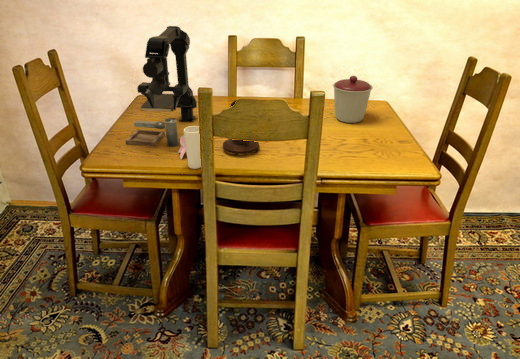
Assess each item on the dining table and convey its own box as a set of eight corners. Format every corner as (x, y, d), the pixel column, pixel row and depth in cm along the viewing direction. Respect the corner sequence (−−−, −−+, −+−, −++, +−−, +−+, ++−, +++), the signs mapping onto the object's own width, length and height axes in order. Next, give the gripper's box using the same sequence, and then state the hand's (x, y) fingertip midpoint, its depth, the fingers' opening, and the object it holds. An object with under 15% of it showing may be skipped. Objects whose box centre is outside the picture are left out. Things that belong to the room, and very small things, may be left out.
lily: (183, 148, 189) (171, 132, 182) (208, 139, 186) (197, 122, 179) (180, 168, 180) (167, 152, 174) (206, 159, 177) (194, 143, 171)
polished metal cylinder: (169, 142, 192) (167, 117, 187) (180, 142, 191) (178, 118, 186) (165, 146, 188) (163, 121, 183) (176, 147, 187) (174, 122, 182)
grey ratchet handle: (133, 127, 207) (133, 122, 206) (137, 124, 210) (136, 119, 209) (163, 129, 205) (162, 124, 204) (166, 126, 208) (165, 121, 207)
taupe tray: (137, 134, 201) (137, 129, 199) (165, 136, 199) (164, 131, 198) (126, 145, 190) (125, 140, 189) (154, 147, 188) (154, 142, 187)
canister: (366, 128, 208) (371, 83, 198) (326, 123, 213) (330, 79, 203) (370, 115, 223) (375, 72, 213) (333, 111, 228) (337, 69, 218)
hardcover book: (140, 111, 227) (139, 107, 226) (154, 97, 248) (153, 93, 246) (171, 112, 226) (171, 108, 225) (182, 98, 246) (182, 94, 245)
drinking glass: (201, 171, 168) (198, 133, 161) (183, 169, 169) (180, 131, 162) (206, 163, 174) (204, 126, 167) (189, 161, 175) (187, 125, 168)
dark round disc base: (216, 147, 188) (214, 100, 178) (247, 140, 195) (247, 94, 185) (233, 160, 177) (232, 111, 167) (265, 152, 183) (266, 105, 174)
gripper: (129, 75, 172) (134, 114, 179) (176, 77, 169) (180, 117, 176) (140, 67, 181) (145, 105, 189) (186, 70, 179) (188, 108, 186)
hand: (164, 109), depth 185 cm, fingers open, 9 cm apart
